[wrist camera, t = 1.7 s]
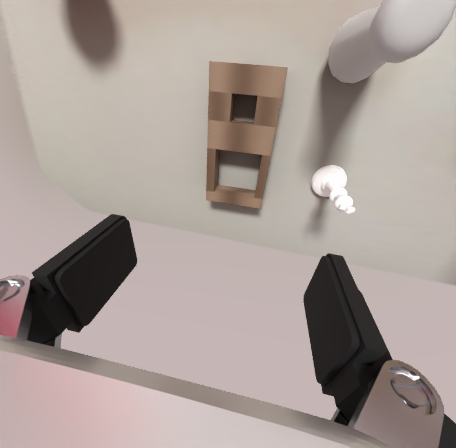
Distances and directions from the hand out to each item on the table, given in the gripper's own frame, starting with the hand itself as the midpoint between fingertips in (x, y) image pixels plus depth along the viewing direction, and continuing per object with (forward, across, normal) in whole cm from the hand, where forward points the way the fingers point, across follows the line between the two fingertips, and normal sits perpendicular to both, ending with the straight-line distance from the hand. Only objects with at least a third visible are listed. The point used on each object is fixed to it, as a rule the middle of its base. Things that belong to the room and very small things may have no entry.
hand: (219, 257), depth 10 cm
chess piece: (+25, -12, +3) cm, 28 cm away
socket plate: (+25, +2, -1) cm, 25 cm away
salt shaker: (+25, -9, -12) cm, 29 cm away
